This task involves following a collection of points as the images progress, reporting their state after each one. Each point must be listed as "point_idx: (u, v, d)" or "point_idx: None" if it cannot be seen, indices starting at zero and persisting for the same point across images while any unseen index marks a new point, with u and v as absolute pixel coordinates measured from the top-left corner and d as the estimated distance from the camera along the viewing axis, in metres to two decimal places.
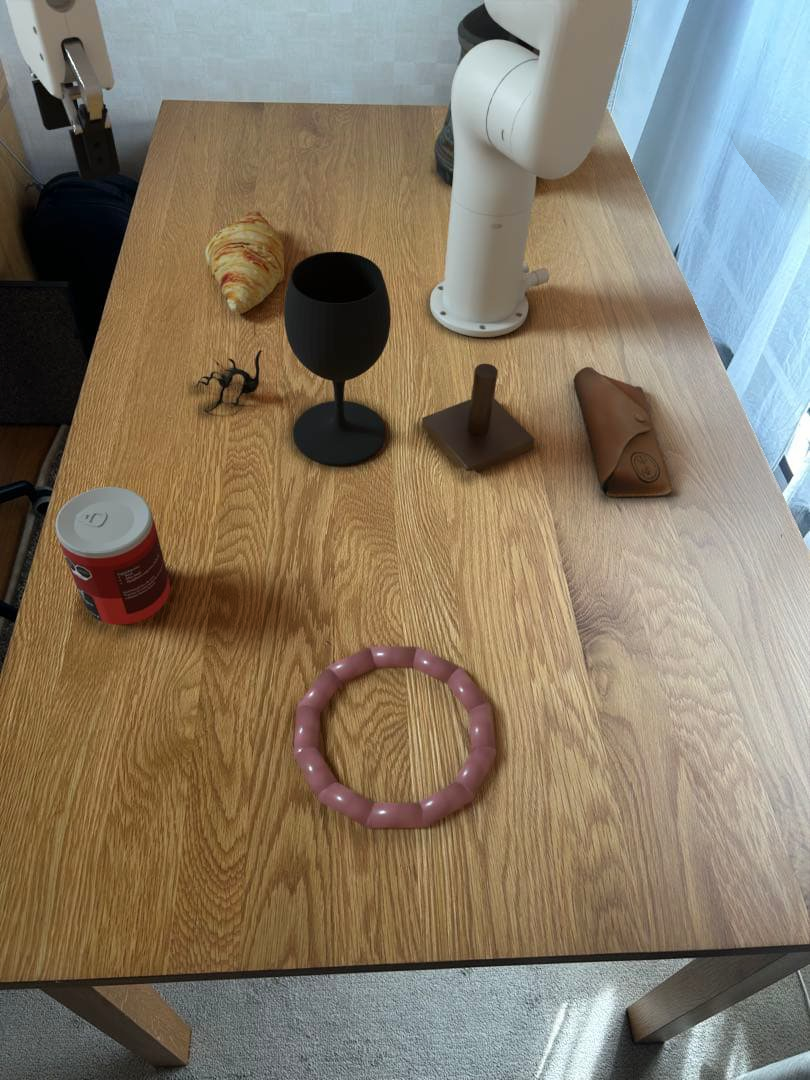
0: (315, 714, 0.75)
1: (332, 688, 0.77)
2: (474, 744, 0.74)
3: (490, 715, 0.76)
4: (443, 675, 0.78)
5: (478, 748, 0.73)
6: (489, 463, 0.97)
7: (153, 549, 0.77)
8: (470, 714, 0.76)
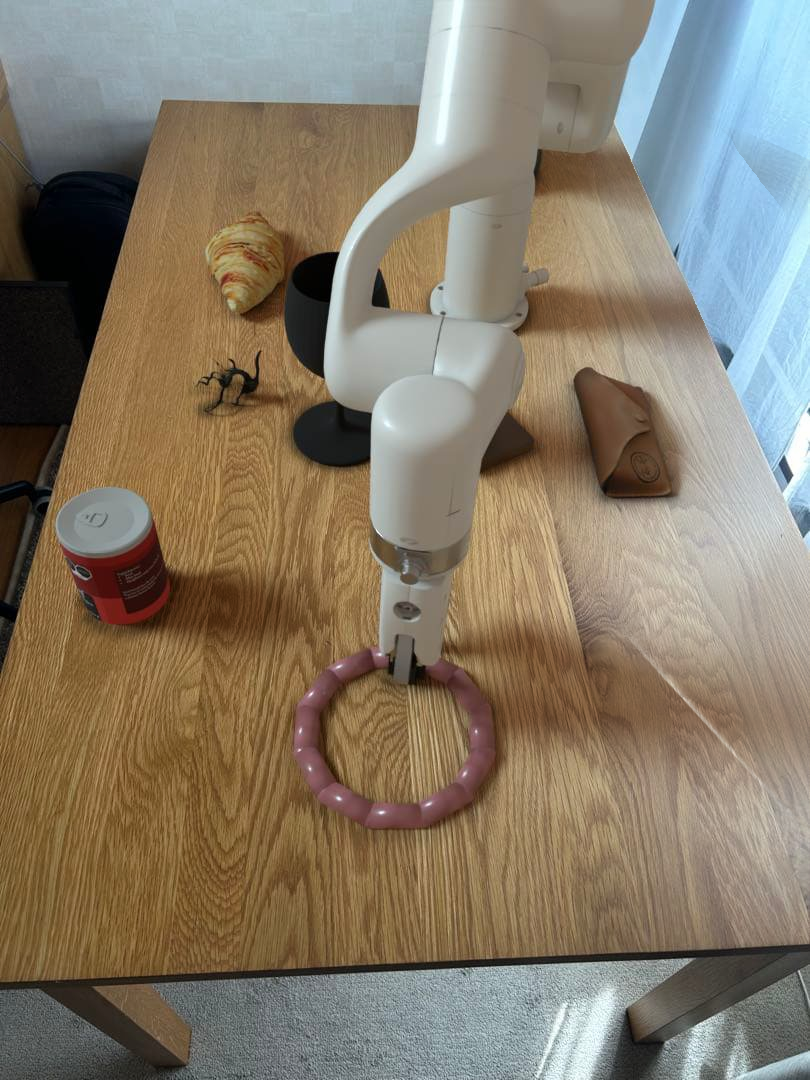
0: (315, 714, 0.75)
1: (332, 688, 0.77)
2: (474, 745, 0.74)
3: (490, 716, 0.76)
4: (443, 676, 0.78)
5: (478, 749, 0.73)
6: (489, 463, 0.97)
7: (153, 549, 0.77)
8: (470, 715, 0.76)
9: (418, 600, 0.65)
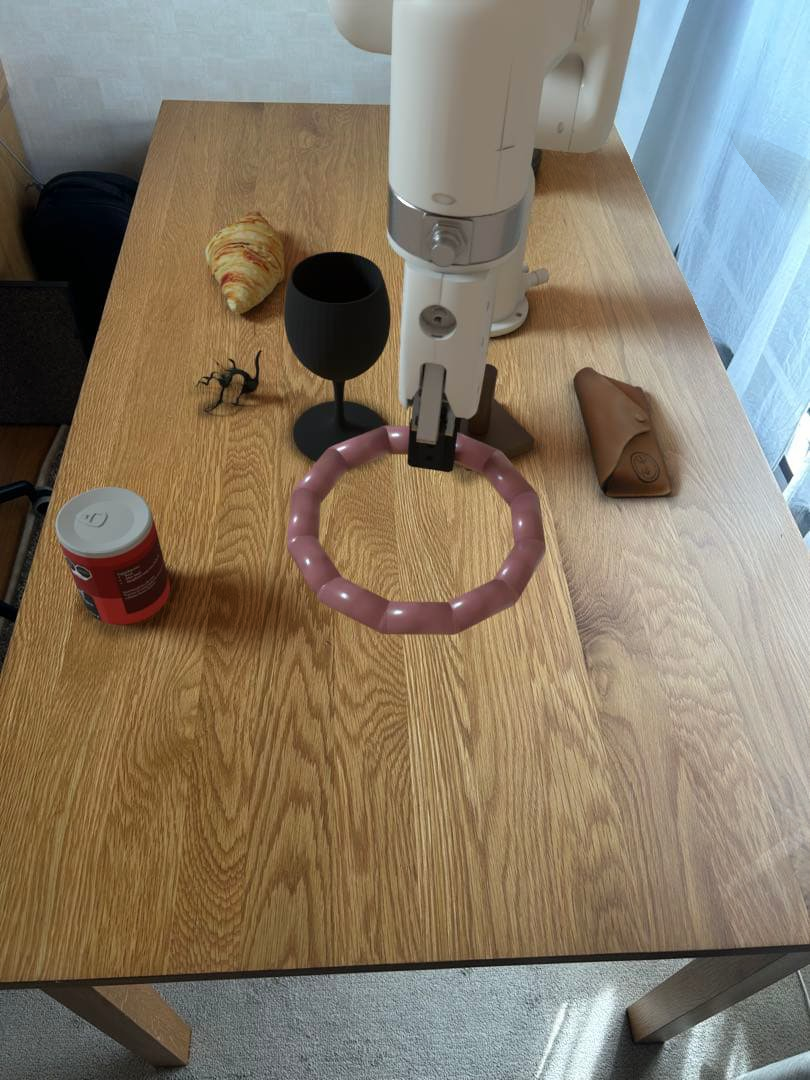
0: (315, 499, 0.59)
1: (337, 471, 0.60)
2: (518, 537, 0.58)
3: (538, 504, 0.59)
4: (478, 459, 0.61)
5: (524, 541, 0.57)
6: None
7: (153, 549, 0.77)
8: (512, 504, 0.59)
9: (453, 301, 0.49)
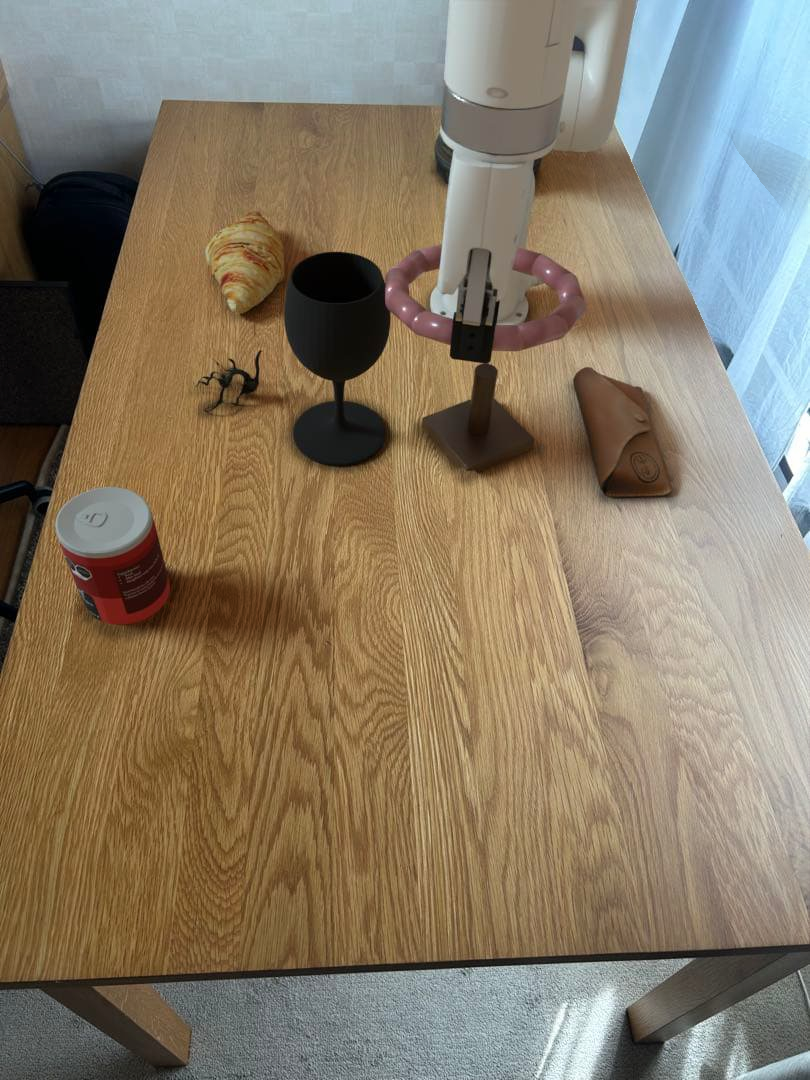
0: (565, 294, 0.74)
1: (553, 311, 0.73)
2: (406, 275, 0.76)
3: (388, 289, 0.74)
4: None
5: (403, 270, 0.76)
6: (489, 463, 0.97)
7: (153, 549, 0.77)
8: (408, 294, 0.74)
9: None
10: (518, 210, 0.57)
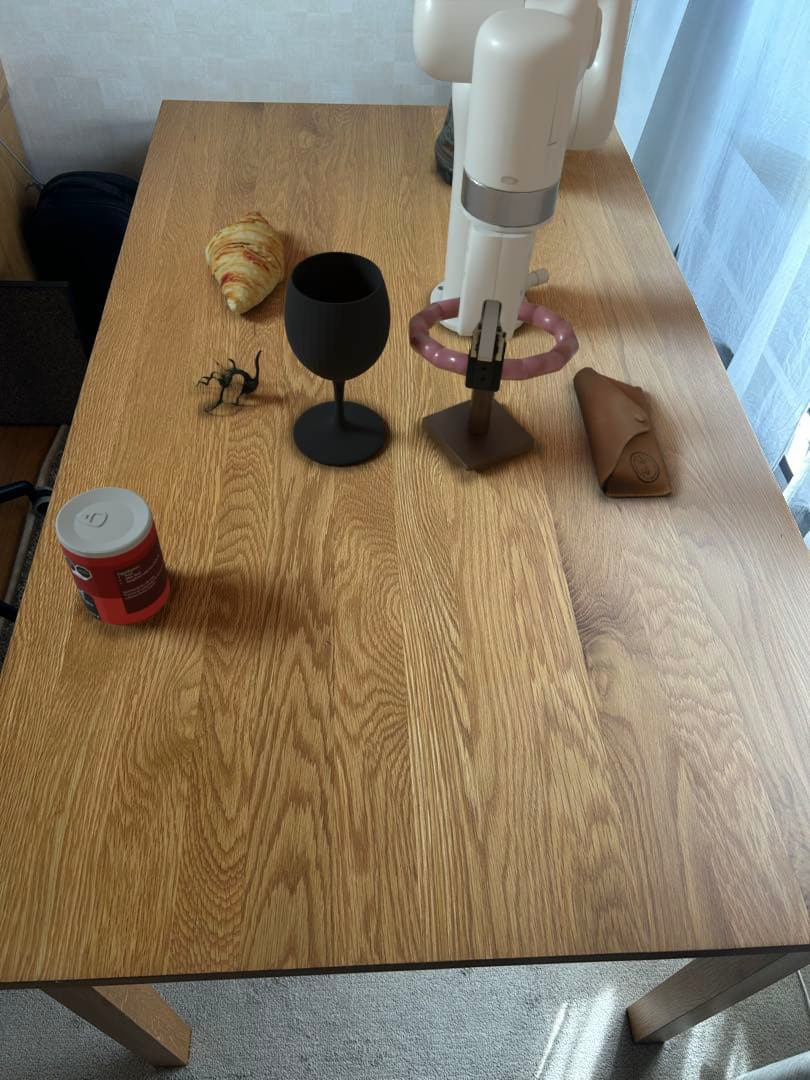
0: (561, 336, 0.88)
1: None
2: (426, 322, 0.90)
3: (412, 331, 0.88)
4: None
5: (423, 317, 0.90)
6: (489, 463, 0.97)
7: (153, 549, 0.77)
8: (429, 335, 0.88)
9: None
10: (523, 270, 0.71)
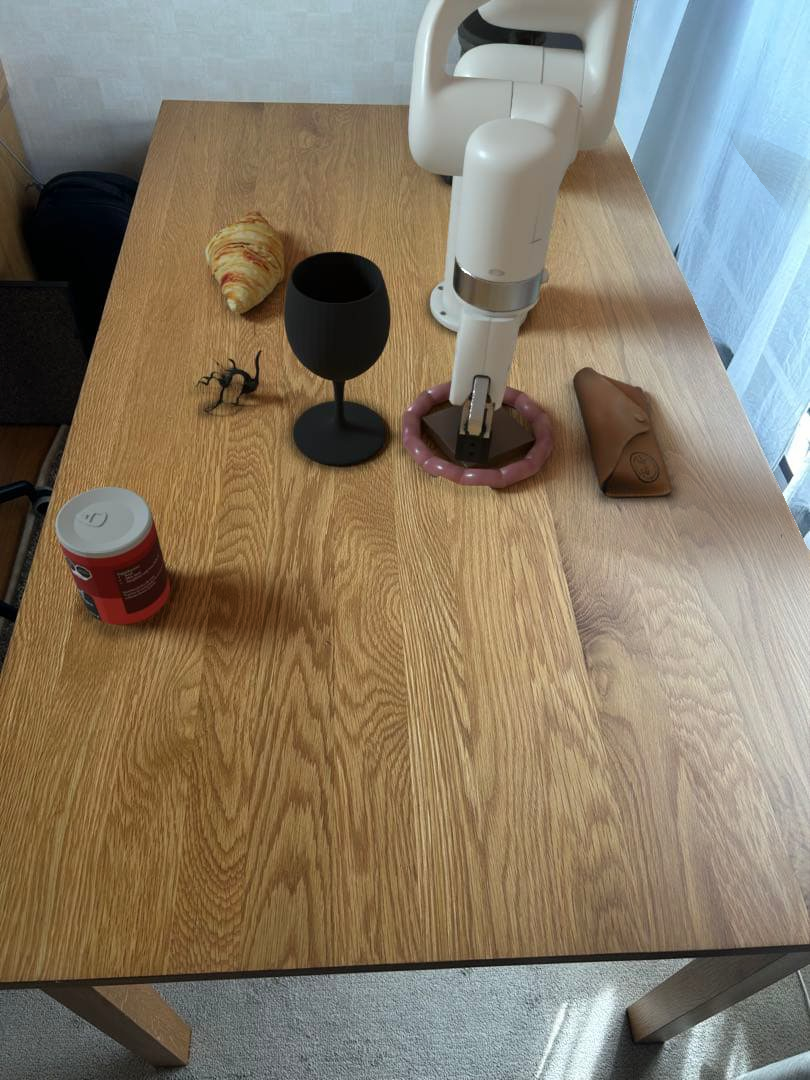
0: (538, 435, 0.98)
1: (529, 452, 0.97)
2: (418, 417, 1.00)
3: (405, 432, 0.98)
4: (440, 458, 0.95)
5: (415, 412, 1.00)
6: (489, 463, 0.97)
7: (153, 549, 0.77)
8: (420, 436, 0.98)
9: None
10: (510, 349, 0.77)
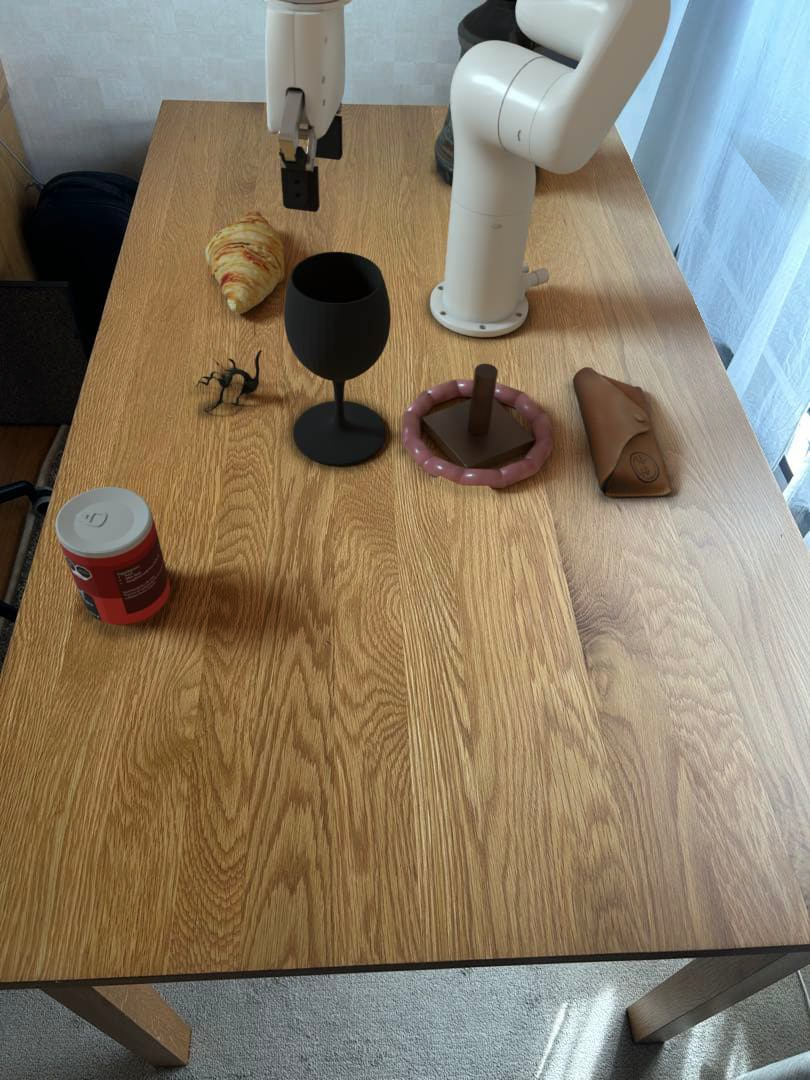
0: (538, 435, 0.98)
1: (529, 452, 0.97)
2: (418, 417, 1.00)
3: (405, 432, 0.98)
4: (440, 458, 0.95)
5: (415, 412, 1.00)
6: (489, 463, 0.97)
7: (153, 549, 0.77)
8: (420, 436, 0.98)
9: None
10: (321, 53, 0.71)
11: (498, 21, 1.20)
